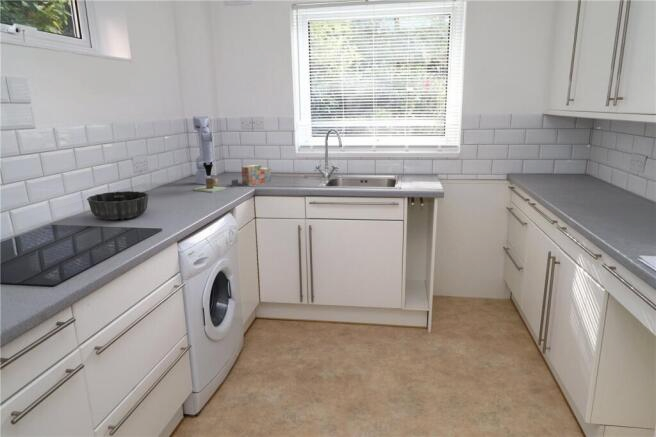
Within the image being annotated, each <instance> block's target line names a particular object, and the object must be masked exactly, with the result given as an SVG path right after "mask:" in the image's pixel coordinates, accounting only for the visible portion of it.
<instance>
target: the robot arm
mask: <svg viewBox="0 0 656 437" xmlns="http://www.w3.org/2000/svg"><path fill="white" fill-rule="evenodd" d="M192 125H193V129H194V130H195V131H196V132H197V137H198V148H199V155H198V156H197V158H195V162H196V163H195V165H196V166H195V167H196V172H195V184H197V185H204V186H206V178H212V177H211V175H212V174H211V173H212V169H213V165H214V164H213V162H214V161H215V159H213V147H212V142H213V136H212V132H210V129H209V127H210V117H209V116H205V115H204V116H193V117H192Z"/></svg>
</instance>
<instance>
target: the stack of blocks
mask: <svg viewBox="0 0 656 437" xmlns="http://www.w3.org/2000/svg"><path fill="white" fill-rule="evenodd" d="M241 180H242V182H241V183H242V184H243V186H254V185H258V184H264V183H267V181H268V182H271V181H272V180H271V168H270V167H262V165H261V164H248V165H243V166H241ZM263 182H264V183H263Z"/></svg>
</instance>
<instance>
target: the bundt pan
mask: <svg viewBox="0 0 656 437" xmlns="http://www.w3.org/2000/svg"><path fill="white" fill-rule="evenodd" d="M149 195H150V194H149V193H147V192H145V191H132V190H131V191H130V190H129V191H128V190H127V191H125V190H124V191H113V192H102V193H98V194H95V195H91V196H88V198H87V197H86V201H87V202H88V204H89V208H90V211H91V214H92V215H94V217H95V218H97V219H98V218H99V219H101V220H105V221H116V220H122V221H123V220H124V219H129V220H130V219H132V218H138V217H139V216H141V215H143V214H144V213H145V212H146V211H147V209H148V200H149V198H148V197H149Z"/></svg>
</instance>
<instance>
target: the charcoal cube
mask: <svg viewBox="0 0 656 437" xmlns="http://www.w3.org/2000/svg"><path fill="white" fill-rule="evenodd" d="M230 181H231V186H232V187H239V180H238V178H237V179H234V178H233V179H231V180H230Z"/></svg>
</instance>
